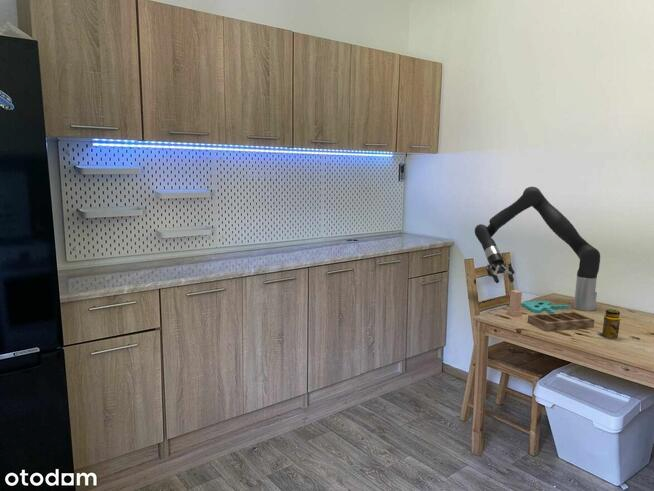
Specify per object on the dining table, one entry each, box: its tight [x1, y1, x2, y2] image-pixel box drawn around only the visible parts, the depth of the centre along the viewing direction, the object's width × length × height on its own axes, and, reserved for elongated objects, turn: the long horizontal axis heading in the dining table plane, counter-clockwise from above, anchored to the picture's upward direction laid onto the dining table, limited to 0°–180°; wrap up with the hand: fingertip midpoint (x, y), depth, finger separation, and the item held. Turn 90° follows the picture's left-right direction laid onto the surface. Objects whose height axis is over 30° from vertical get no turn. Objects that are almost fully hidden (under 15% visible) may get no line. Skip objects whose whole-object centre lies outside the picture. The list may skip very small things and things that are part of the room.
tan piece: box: [506, 289, 523, 317], centre depth 240 cm, size 6×4×12 cm
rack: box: [527, 311, 595, 332], centre depth 226 cm, size 26×13×4 cm, turn 105°
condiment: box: [596, 308, 621, 341], centre depth 210 cm, size 7×8×12 cm
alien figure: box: [521, 300, 570, 314], centre depth 251 cm, size 20×2×20 cm
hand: (505, 282), depth 248 cm, fingers open, 8 cm apart
